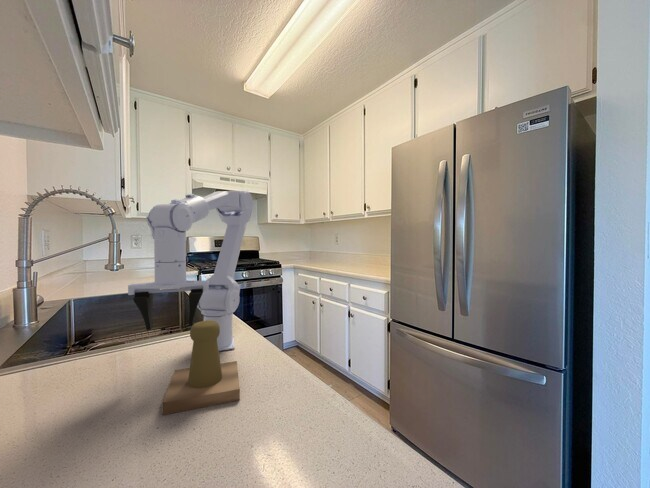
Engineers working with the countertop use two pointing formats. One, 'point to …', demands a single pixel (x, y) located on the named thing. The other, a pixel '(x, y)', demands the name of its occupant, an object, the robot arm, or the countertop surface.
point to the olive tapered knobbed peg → (205, 355)
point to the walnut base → (201, 390)
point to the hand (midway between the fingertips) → (170, 326)
